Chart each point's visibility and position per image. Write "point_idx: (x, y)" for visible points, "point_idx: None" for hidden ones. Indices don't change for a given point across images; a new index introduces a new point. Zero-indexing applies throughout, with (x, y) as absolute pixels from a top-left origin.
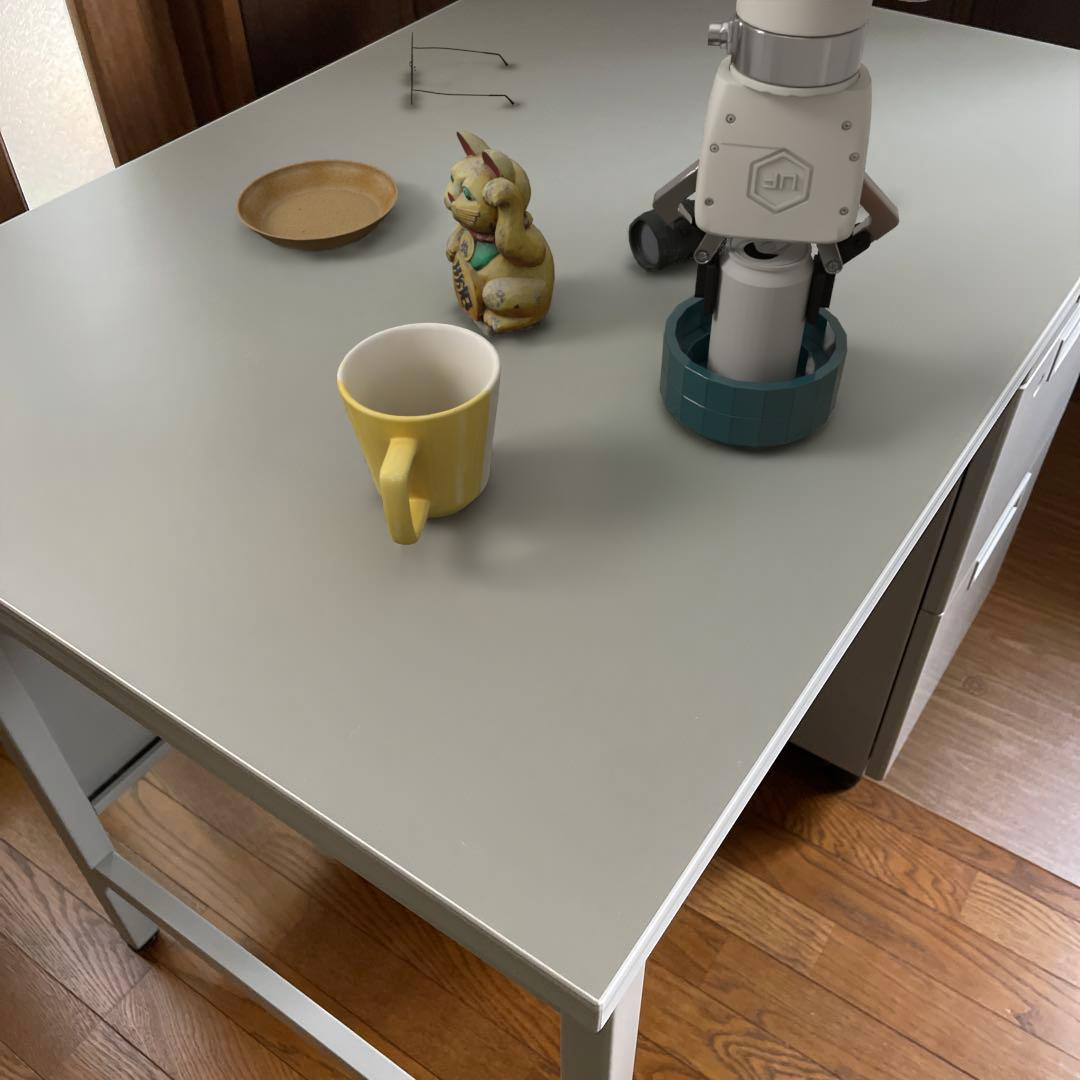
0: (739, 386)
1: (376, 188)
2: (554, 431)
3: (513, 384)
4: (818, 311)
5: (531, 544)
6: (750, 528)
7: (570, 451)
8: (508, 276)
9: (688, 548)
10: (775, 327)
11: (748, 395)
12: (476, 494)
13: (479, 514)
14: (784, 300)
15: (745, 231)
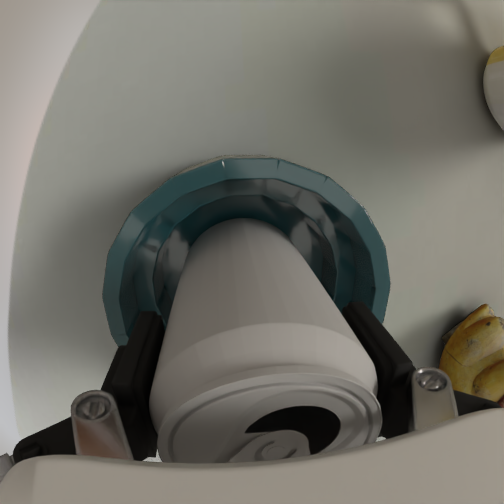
0: (272, 162)
1: None
2: (441, 178)
3: (469, 247)
4: (135, 326)
5: (431, 20)
6: (224, 34)
7: (427, 146)
8: (501, 348)
9: (291, 2)
10: (220, 275)
11: (252, 157)
12: (489, 60)
13: (473, 62)
14: (208, 313)
15: (417, 455)
